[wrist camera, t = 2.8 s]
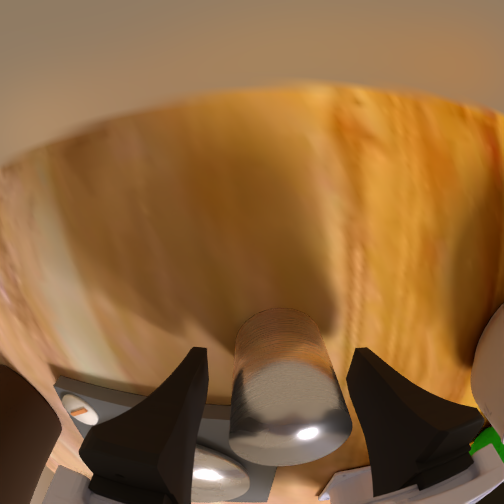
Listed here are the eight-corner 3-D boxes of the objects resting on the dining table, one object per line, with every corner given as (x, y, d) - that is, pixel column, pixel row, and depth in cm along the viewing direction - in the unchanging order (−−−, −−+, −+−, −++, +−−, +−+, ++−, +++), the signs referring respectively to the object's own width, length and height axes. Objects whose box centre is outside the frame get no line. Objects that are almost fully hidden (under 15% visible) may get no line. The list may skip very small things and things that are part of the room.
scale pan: (253, 443, 14) (253, 452, 14) (247, 500, 18) (247, 506, 17) (81, 415, 14) (77, 422, 13) (126, 482, 18) (124, 488, 17)
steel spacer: (327, 308, 13) (368, 397, 7) (313, 374, 14) (335, 461, 9) (236, 306, 13) (227, 402, 7) (235, 374, 14) (229, 465, 9)
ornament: (475, 447, 22) (498, 490, 12) (448, 455, 21) (472, 507, 11) (511, 408, 19) (541, 451, 10) (489, 413, 19) (524, 466, 9)
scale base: (286, 406, 15) (289, 426, 14) (266, 493, 20) (266, 505, 19) (60, 375, 15) (50, 389, 13) (118, 473, 20) (115, 484, 18)
